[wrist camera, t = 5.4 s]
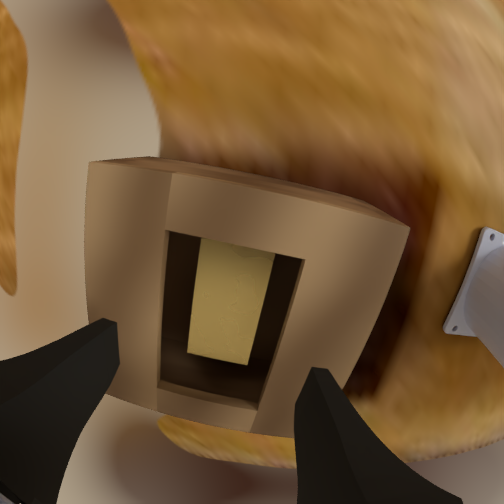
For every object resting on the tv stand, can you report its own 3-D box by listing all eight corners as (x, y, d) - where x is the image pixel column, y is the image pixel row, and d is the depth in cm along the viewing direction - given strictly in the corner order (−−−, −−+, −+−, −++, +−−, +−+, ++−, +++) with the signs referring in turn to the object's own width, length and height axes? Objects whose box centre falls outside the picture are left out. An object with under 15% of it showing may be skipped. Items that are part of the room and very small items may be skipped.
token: (273, 226, 15) (275, 251, 12) (251, 322, 17) (247, 365, 14) (217, 215, 15) (201, 236, 12) (202, 311, 17) (187, 352, 14)
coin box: (363, 200, 15) (410, 227, 9) (304, 371, 19) (312, 439, 13) (149, 156, 15) (88, 161, 9) (137, 334, 19) (99, 391, 13)
